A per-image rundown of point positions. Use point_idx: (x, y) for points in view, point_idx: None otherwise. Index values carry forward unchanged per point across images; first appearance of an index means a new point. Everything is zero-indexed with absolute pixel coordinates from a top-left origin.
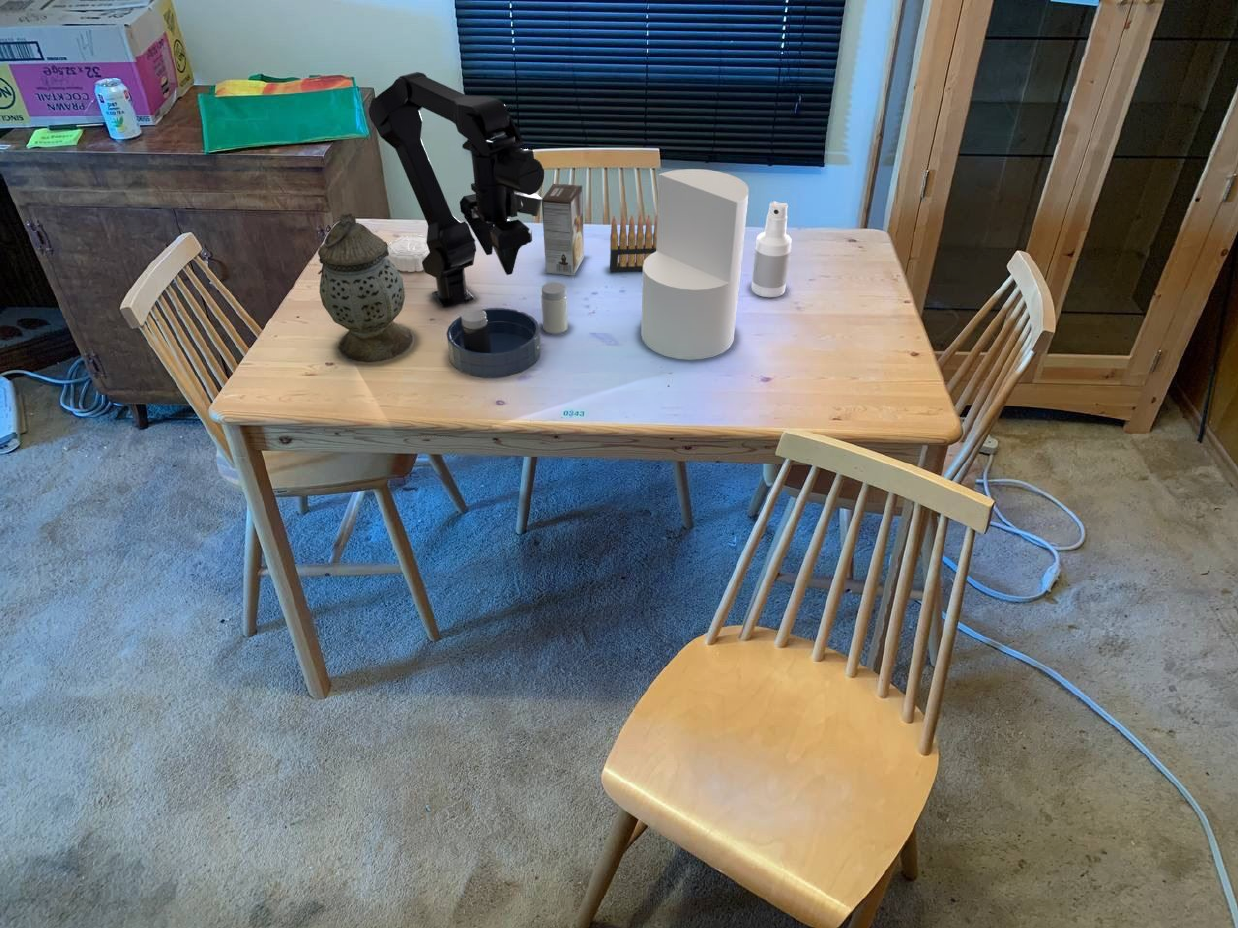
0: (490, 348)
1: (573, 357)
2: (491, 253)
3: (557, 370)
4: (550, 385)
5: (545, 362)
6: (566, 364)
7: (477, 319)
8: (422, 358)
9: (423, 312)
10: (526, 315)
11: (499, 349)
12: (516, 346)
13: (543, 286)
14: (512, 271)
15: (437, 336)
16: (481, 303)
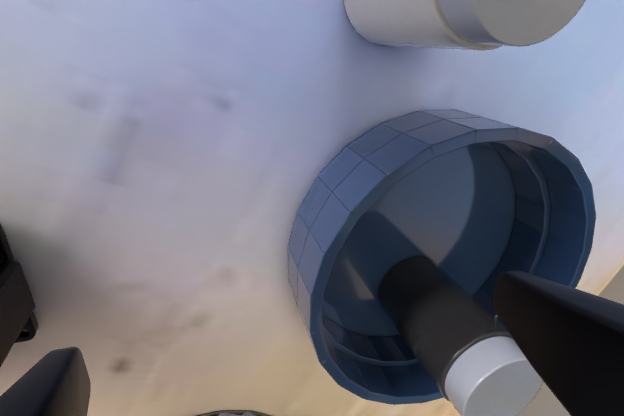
0: (450, 276)
1: (562, 33)
2: (74, 354)
3: (573, 113)
4: (601, 158)
5: (525, 127)
6: (571, 74)
7: (534, 387)
8: (326, 394)
9: None
10: (453, 148)
11: (408, 229)
12: (423, 180)
13: (484, 11)
14: (534, 278)
15: (237, 359)
16: (37, 193)
